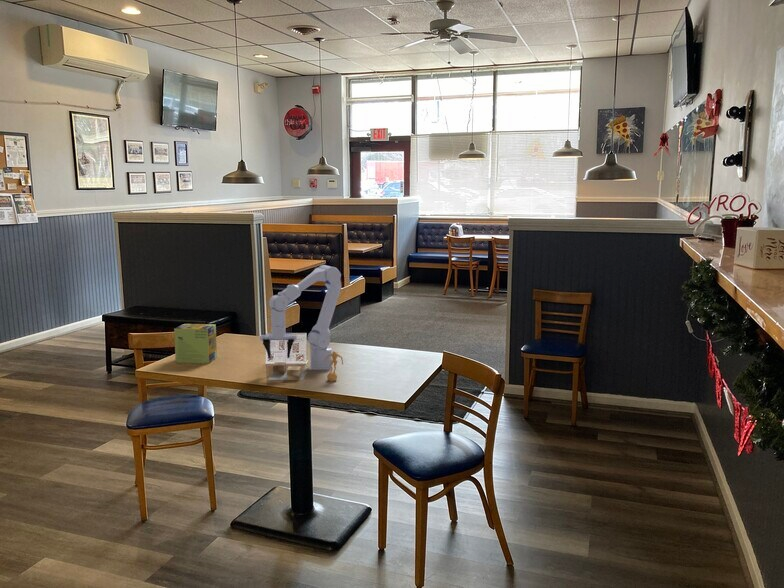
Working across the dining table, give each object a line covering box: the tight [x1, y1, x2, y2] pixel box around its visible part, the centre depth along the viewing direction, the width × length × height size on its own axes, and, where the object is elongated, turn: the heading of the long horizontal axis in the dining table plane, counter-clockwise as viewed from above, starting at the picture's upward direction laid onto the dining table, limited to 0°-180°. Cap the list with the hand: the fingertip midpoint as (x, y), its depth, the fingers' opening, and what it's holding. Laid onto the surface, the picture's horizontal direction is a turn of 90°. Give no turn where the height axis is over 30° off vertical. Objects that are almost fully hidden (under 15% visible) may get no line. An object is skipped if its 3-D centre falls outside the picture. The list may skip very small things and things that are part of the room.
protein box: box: [173, 323, 218, 365], centre depth 272 cm, size 10×15×16 cm
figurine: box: [324, 350, 344, 382], centre depth 243 cm, size 8×6×12 cm
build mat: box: [267, 370, 308, 381], centre depth 249 cm, size 14×12×1 cm
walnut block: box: [272, 361, 287, 375], centre depth 252 cm, size 4×4×4 cm
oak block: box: [286, 365, 302, 381], centre depth 246 cm, size 5×5×4 cm
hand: (279, 357), depth 251 cm, fingers open, 7 cm apart
